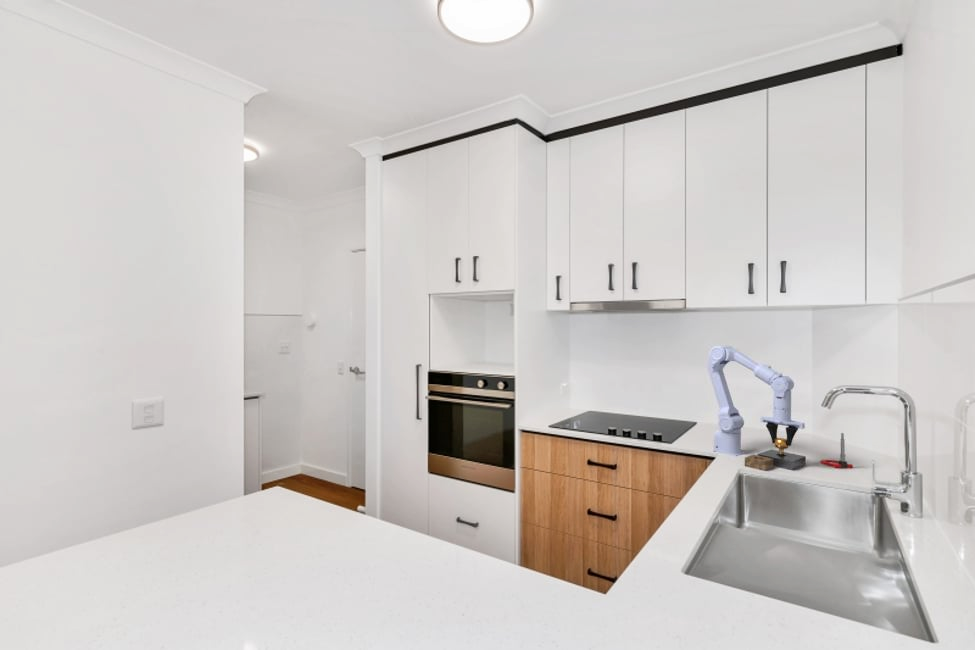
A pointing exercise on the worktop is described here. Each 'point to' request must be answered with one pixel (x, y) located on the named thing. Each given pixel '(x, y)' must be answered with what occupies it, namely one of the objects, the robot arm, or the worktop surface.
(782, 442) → the pin
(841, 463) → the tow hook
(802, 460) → the hitch block
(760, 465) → the block
